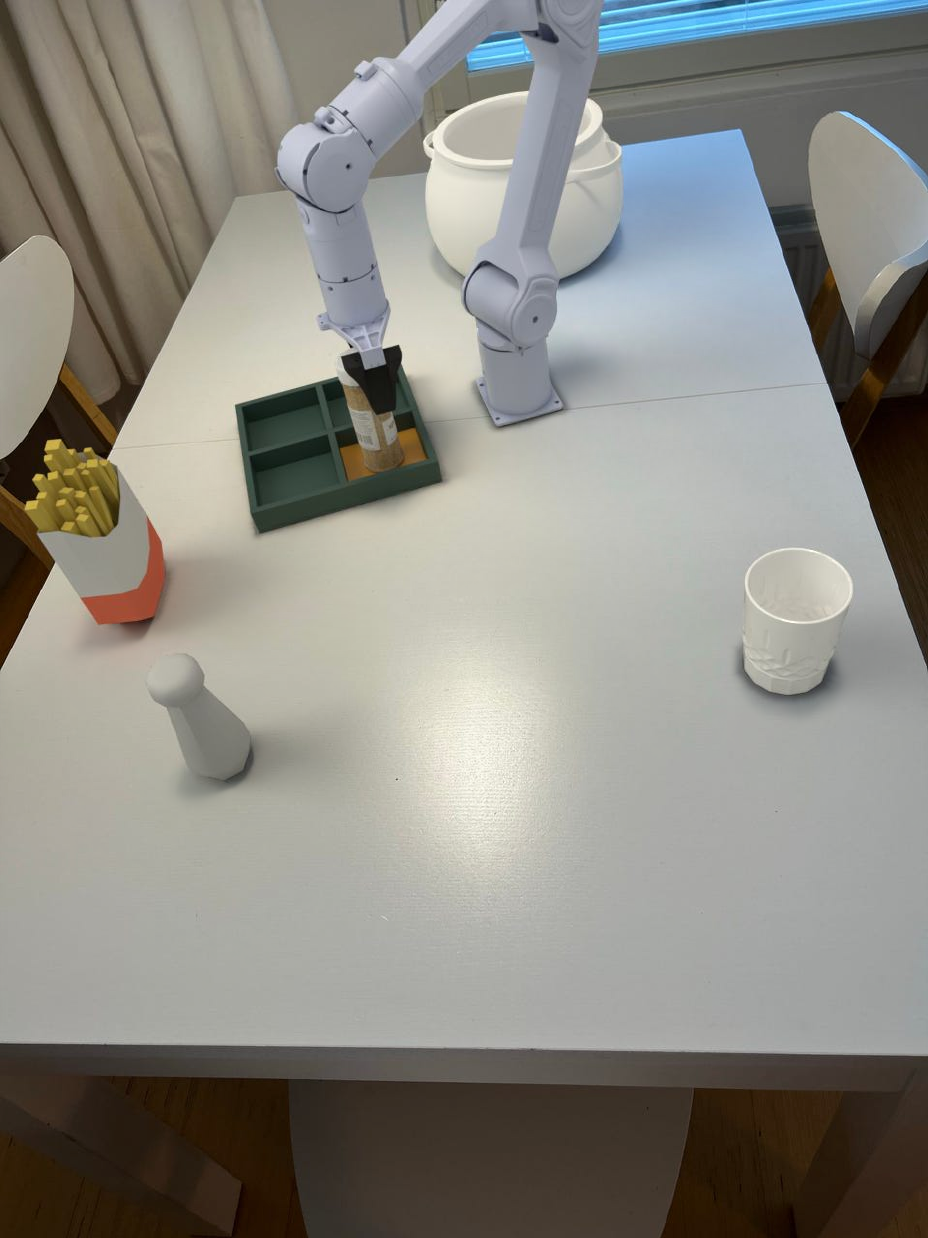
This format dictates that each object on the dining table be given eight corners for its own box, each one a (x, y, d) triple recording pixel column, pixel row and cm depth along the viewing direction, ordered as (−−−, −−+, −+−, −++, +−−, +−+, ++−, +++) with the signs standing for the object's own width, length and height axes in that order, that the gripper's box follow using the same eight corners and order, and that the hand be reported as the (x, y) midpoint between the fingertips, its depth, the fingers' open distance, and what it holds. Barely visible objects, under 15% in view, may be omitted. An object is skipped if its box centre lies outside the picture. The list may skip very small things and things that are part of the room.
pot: (392, 276, 131) (365, 157, 119) (495, 189, 144) (481, 73, 132) (568, 317, 118) (559, 188, 106) (665, 218, 131) (667, 92, 118)
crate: (242, 423, 114) (234, 404, 111) (404, 379, 115) (399, 358, 113) (259, 533, 100) (250, 513, 98) (442, 481, 101) (438, 460, 99)
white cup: (837, 636, 80) (857, 554, 73) (829, 710, 76) (849, 631, 68) (743, 621, 83) (752, 541, 75) (729, 692, 78) (737, 614, 71)
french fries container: (174, 557, 100) (100, 421, 86) (152, 636, 92) (68, 500, 79) (133, 562, 100) (53, 427, 87) (108, 641, 93) (17, 506, 79)
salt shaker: (197, 737, 84) (137, 645, 74) (260, 727, 83) (208, 633, 73) (190, 794, 80) (126, 705, 70) (256, 784, 79) (201, 693, 70)
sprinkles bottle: (412, 461, 103) (386, 356, 93) (376, 480, 102) (347, 376, 92) (391, 442, 106) (364, 338, 96) (356, 460, 105) (326, 357, 95)
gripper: (294, 242, 91) (330, 362, 101) (315, 317, 81) (352, 441, 91) (365, 223, 91) (393, 345, 101) (393, 295, 81) (422, 422, 91)
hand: (378, 389), depth 96 cm, fingers open, 7 cm apart
